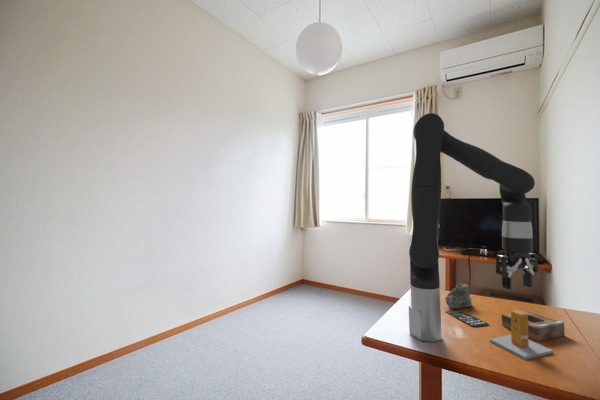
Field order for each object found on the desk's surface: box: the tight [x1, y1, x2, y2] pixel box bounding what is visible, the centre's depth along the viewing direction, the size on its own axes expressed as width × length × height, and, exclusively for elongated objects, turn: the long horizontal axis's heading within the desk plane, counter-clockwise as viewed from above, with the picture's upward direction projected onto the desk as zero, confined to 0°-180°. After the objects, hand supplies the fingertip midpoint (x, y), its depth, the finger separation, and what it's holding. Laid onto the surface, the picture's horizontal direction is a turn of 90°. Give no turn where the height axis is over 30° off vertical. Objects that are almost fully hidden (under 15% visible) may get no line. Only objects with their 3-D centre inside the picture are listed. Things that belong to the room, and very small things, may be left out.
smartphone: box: [445, 309, 490, 329], centre depth 108 cm, size 7×1×15 cm
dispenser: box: [501, 310, 566, 342], centre depth 96 cm, size 12×12×5 cm
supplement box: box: [510, 310, 529, 347], centre depth 86 cm, size 3×3×10 cm
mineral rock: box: [444, 282, 473, 309], centre depth 120 cm, size 13×11×10 cm
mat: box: [489, 334, 554, 360], centre depth 86 cm, size 11×11×1 cm
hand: (517, 287), depth 86 cm, fingers open, 8 cm apart
